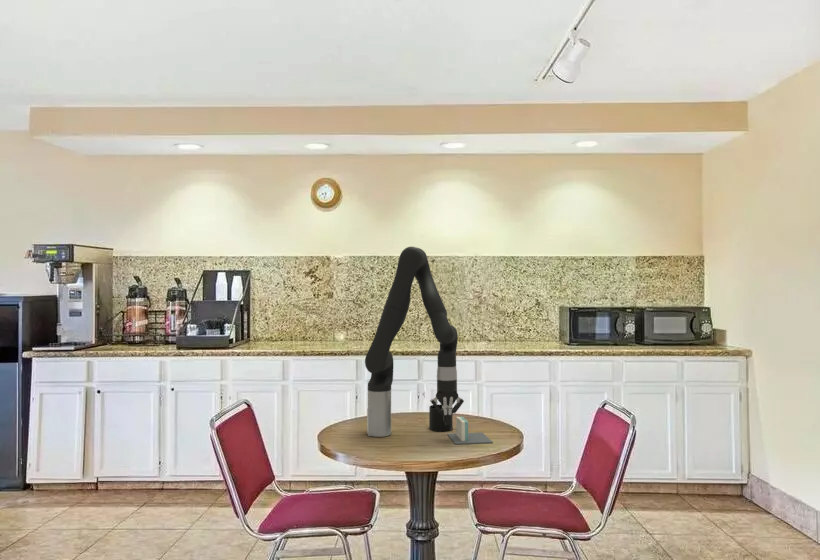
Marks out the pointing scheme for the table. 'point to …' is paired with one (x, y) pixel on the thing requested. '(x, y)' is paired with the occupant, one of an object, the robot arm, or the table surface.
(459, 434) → the block
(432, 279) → the robot arm
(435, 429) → the mug
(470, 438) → the mat
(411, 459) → the table surface
